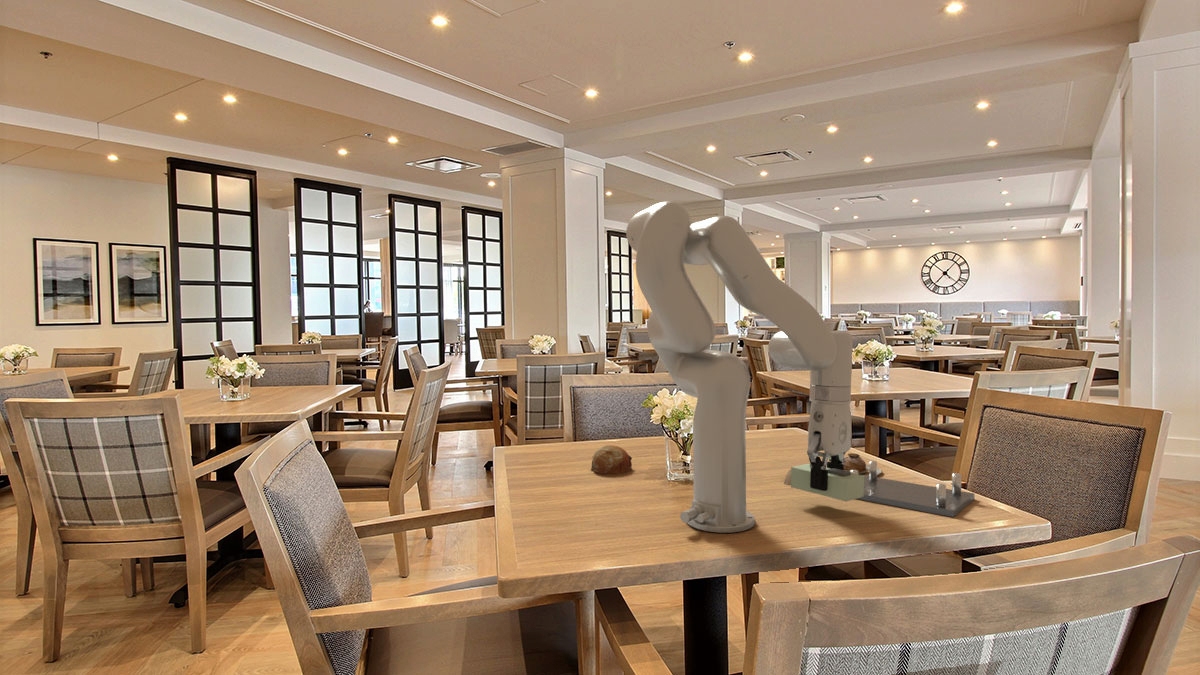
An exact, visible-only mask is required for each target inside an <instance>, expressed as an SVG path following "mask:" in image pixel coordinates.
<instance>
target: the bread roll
mask: <svg viewBox="0 0 1200 675" xmlns="http://www.w3.org/2000/svg"><path fill="white" fill-rule="evenodd" d="M632 459H633V457H632V456H631V455H630V454H629V453H628V452H627V450H625V449H624V448H622V447H619V446H618V445H612V444H611V445H610V444H607V445H604V446H602V447H601V446H600V448H598V449H597V450H596V451H595V452H594V454H593V455H592V461H591V468H590V470H591V471H592V472H594V471H595V472H594V473H597V472H598V473H597V474H599V473H600V475H607V474H612V475H620V474H625V473H628V472H630V471H631V469H632V466H633V464H632ZM619 473H620V474H619Z"/></svg>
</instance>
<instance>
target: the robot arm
mask: <svg viewBox="0 0 1200 675" xmlns="http://www.w3.org/2000/svg"><path fill="white" fill-rule="evenodd" d="M625 233H626V234H625V235H626V240H627V242H628V245H629V246H630V248H631V249H632V250H633V251H635V253H636V255H635V256H636V258H635V276H636V279H637V283H638V286H639V289H640V291H641V293H642V295H643V297H644V299H645V300H646V302H647V305H648V306H649V308H650V310H651V313H650V314H649V316H648V319H647V323H646V328H647V329H646V331H647V332H646V333H647V335H648V339H649V342H650V344H651V345H652V348H653V349H654V351H655V352H656V354H657V357H659V359H660V361H661V362H662V364H663V366H664V368H665V369H666V371H667V372H668V374H669V376H670V377H671V379H672V380H673V381H674V383H675V385H676V386H677V387H678V388H679V390H681V391H682V392H683V393H684V394H686V395H688V396H691V397H693V398H697V399H696V405H695V410H694V413H693V420H692V450H693V451H692V452H693V453H692V456H693V458H692V459H693V460H692V461H693V466H692V468H693V469H692V470H693V474H692V475H693V499H692V500H691V507H690V508H689V509H686V510H685V511H682V512H681V513H680V514H679V517H680V520H681V521H682V522H683V523H685V524H686V523H687V524H688V526H690V527H692V528H694V529H697V530H699V531H700V530H701V531H703V532H710V533H719V534H726V533H727V534H728V533H738V532H739V533H741V532H745V531H747V530H749V529H751V528H753V527H754V526H755V523H756V518H755V515H754V514H753V513H751V512H750V511H749V510H747V459H746V458H747V451H746V450H747V448H746V444H747V441H746V423H747V422H746V420H747V418H746V417H747V406H748V400H749V396H750V395H749V394H750V388H751V375H750V371H749V369H748V367H747V365H746V363H745V362H744V360H743V359H741V357H739V356H738V355H736V354H734V353H732V352H728V351H724V350H715V349H709V347H711V345H712V344H713V341H714V340H715V338H716V326H715V322H714V320H713V317H712V316H711V314H710V311H709V310H708V309H707V307H706V306H705V304H704V302H703V301H702V299H701V297H700V296H699V294H698V292H697V290H696V289H695V287H694V286H693V283H692V282H691V280H690V277H689V276H688V273H687V271H686V268H685V264H687V265H694V266H707V265H710V266H711V268H712V269H713V271H714V272H715V274H716V275H717V276H718V277H719V279H720V280H721V281H722V283H723V284H724V286H725V287H726V288H727V291H729V293H730V294H731V296H732V297H733V299H734V301H735V302H736V303H737V304H739V306H741V307H742V308H744V309H746V311H750V312H751V313H753V314H756V315H758V316H760V317H762V318H764V319H765V320H767V321H769V322H770V323H772V324H773V325H774V326H776V327H777V328H779V331H778V332H776V333H775V334H773V335H772V337H771V338H770V339H769V342H768V346H767V349H768V350H767V351H768V354H769V356H770V358H771V359H772V360H773V361H774V362H775V363H776V364H778V365H779V366H782V367H785V368H791V369H799V370H807V371H810V373H809V397H808V398H809V402H811V404H810V411H809V418H808V428H807V429H808V430H807V450H806V453H807V456H808V461H809V464H810V468H811V474H810V487H811V488H813V489H817V490H822V491H826V490H827V486H828V470H826V467H827V468H831V469H832V468H835V469H839V470H844V462H845V458H846V457H845V455H846V453H847V452H849V451H850V450H851V448H852V415H851V413H852V412H851V406H850V404H851V402H852V399H851V397H852V396H851V395H852V394H851V393H852V371H853V370H852V369H853V368H852V367H853V344H854V343H853V342H854V341H853V337H852V335H851V333H849V332H848V331H840V330H839V331H838V330H830V328H829V326H828V325H827V323H826V322H825V320H824V319H823V317H822V316H821V314H820V313H819V312H818V311H817V309H815V307H814V306H813V305H812V304H811V302H809V301H808V300H807V299H805V298H804V297H803V296H801V295H800V294H799V293H798V292H796V291H795V290H794V289H793V288H792V287H791V286H789V285H788V284H786V283H785V282H784V281H782V280H781V279H780V278H779V277H778V276H777V275H776V274H775V273H774V271H773V270H772V268H771V267H770V265H769V263H768V262H767V261H766V259H765V258H764V257H763V255H762V254H761V253H760V251H759V249H758V248H757V246H756V244H754V242H753V240H752V239H751V238H750V236H749V235H748V233H747V232H746V230H745V228H744V227H743V226H742V224H741V223H739V221H738V220H737V219H735V218H734V217H732V216H729V215H716V216H713V217H709V218H707V219H704V220H700V221H698V220H692V219H691V217H690V214H689V211H688V210H687V209H686V207H685V206H684V205H683V204H681V203H680V202H677V201H673V200H666V201H661V202H658V203H655V204H653V205H651V206H648V207H647V208H645V209H643V210H640V211H639V212H637V213H636V214H634V215H633V216H632V217H631V219H630V220H629V222H628V224H627V226H626V232H625ZM821 451H823V452H821ZM821 457H822V459H821Z"/></svg>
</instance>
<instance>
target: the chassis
mask: <svg viewBox="0 0 1200 675" xmlns="http://www.w3.org/2000/svg"><path fill="white" fill-rule="evenodd" d="M868 465H869V471H868V475H869V476H865V475H866V474H865V475H864V494H863V497H860V498H857V499H856V500H859V501H860V500H861V501H865V502H866V501H867V502H871V503H875V504H882V505H887V506H892V507H898V508H903V509H908V510H912V511H919V512H924V513H929V514H934V515H940V516H944V517H945V516H946V517H949V518H955V517H956V516H957V515H958V514H959V513H960V512H962V511H963V510H964V509H965V508H966V507H967V506H969V504H971V503H972V502H973V501H974V500H975V492H968V491H962V473H960V472H959V473H958V472H952V473H951V489H948V488H947V485H946V484H945V483H936V486H932V485H931V486H930V485H925V484H921V483H920V484H919V483H913V482H909V481H908V482H906V481H900V480H895V479H888V478H884V477H883V478H882V477H878V475H877V468H878V461H876V460H869V461H868ZM850 472H851V473H854V474H858V470H850Z"/></svg>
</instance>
